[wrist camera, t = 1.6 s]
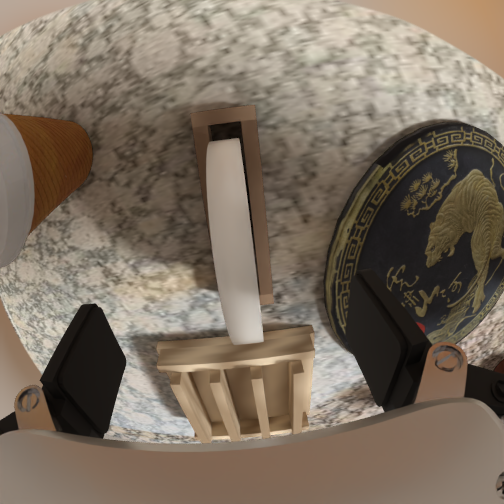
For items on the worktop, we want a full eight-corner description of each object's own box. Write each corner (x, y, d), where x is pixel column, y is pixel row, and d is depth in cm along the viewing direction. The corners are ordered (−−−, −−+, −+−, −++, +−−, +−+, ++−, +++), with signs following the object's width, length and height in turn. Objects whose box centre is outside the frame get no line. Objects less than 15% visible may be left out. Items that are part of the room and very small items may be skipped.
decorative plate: (409, 390, 34) (257, 297, 24) (404, 382, 36) (255, 285, 26) (538, 247, 26) (467, 62, 16) (530, 242, 27) (455, 63, 17)
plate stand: (252, 106, 19) (254, 104, 17) (270, 287, 26) (273, 303, 24) (195, 114, 19) (190, 113, 17) (223, 292, 26) (223, 309, 24)
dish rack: (311, 325, 28) (324, 361, 24) (307, 407, 35) (314, 438, 31) (158, 341, 28) (148, 378, 23) (194, 419, 35) (192, 449, 31)
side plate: (237, 130, 20) (243, 155, 9) (253, 271, 25) (268, 384, 15) (211, 134, 20) (187, 163, 9) (232, 274, 25) (235, 388, 15)
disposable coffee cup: (102, 219, 22) (24, 298, 11) (22, 200, 20) (-63, 256, 10) (121, 106, 18) (22, 106, 7) (32, 100, 17) (-69, 112, 6)
